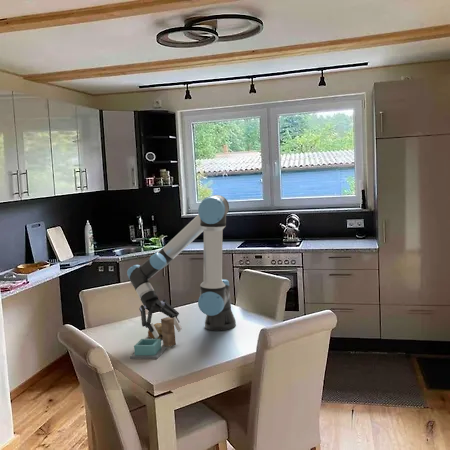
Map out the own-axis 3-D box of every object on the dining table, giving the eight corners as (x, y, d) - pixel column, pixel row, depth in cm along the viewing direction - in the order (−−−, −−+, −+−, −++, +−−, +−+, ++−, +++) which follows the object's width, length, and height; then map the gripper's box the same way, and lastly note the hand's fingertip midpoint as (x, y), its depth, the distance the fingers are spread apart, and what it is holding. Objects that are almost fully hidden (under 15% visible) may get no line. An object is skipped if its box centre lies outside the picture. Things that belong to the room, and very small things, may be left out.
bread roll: (151, 347, 242) (152, 334, 238) (144, 333, 250) (145, 320, 246) (171, 342, 247) (172, 329, 243) (163, 329, 254) (164, 316, 251)
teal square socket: (166, 348, 228) (165, 337, 228) (157, 358, 217) (156, 347, 216) (140, 348, 231) (139, 337, 230) (130, 358, 219) (129, 347, 219)
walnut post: (170, 342, 236) (168, 316, 235) (175, 344, 233) (173, 318, 232) (163, 345, 233) (160, 319, 232) (168, 346, 230) (166, 320, 229)
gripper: (165, 294, 251) (186, 331, 241) (122, 305, 234) (143, 345, 225) (171, 285, 246) (193, 322, 237) (127, 295, 230) (149, 336, 221)
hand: (169, 333), depth 231 cm, fingers open, 12 cm apart
